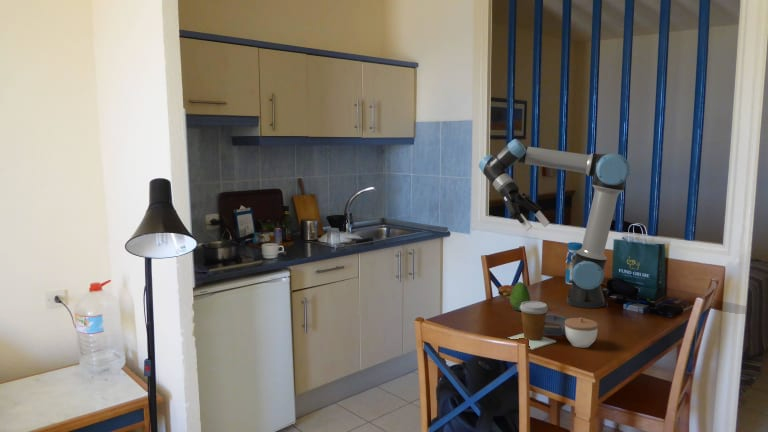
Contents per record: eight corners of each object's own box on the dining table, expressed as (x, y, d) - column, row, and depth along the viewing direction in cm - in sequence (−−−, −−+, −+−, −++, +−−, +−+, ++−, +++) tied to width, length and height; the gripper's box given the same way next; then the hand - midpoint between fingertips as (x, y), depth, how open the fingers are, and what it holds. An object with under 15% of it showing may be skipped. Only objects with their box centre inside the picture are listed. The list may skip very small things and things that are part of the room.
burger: (517, 293, 255) (517, 283, 254) (521, 299, 246) (522, 289, 245) (495, 293, 255) (496, 283, 255) (499, 299, 246) (499, 289, 245)
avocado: (520, 314, 223) (521, 285, 221) (506, 309, 229) (506, 281, 228) (533, 310, 228) (534, 282, 226) (518, 306, 234) (519, 278, 232)
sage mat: (528, 332, 200) (528, 331, 200) (556, 342, 191) (556, 340, 191) (505, 339, 194) (505, 338, 194) (532, 349, 184) (532, 348, 184)
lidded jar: (589, 338, 194) (590, 312, 193) (602, 349, 183) (603, 322, 182) (559, 339, 193) (560, 313, 192) (570, 350, 183) (571, 323, 182)
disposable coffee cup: (548, 343, 189) (549, 308, 187) (519, 341, 190) (520, 307, 189) (545, 333, 198) (546, 301, 196) (518, 332, 200) (519, 300, 198)
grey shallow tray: (545, 319, 216) (545, 311, 216) (581, 329, 203) (581, 321, 203) (517, 326, 207) (517, 319, 207) (552, 338, 194) (552, 330, 194)
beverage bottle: (570, 280, 278) (572, 241, 276) (586, 283, 272) (587, 243, 269) (561, 283, 273) (562, 243, 270) (577, 286, 266) (578, 245, 264)
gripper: (517, 191, 237) (548, 229, 228) (483, 195, 220) (515, 236, 211) (528, 179, 233) (560, 217, 224) (494, 182, 215) (527, 224, 207)
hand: (538, 226), depth 217 cm, fingers open, 13 cm apart
